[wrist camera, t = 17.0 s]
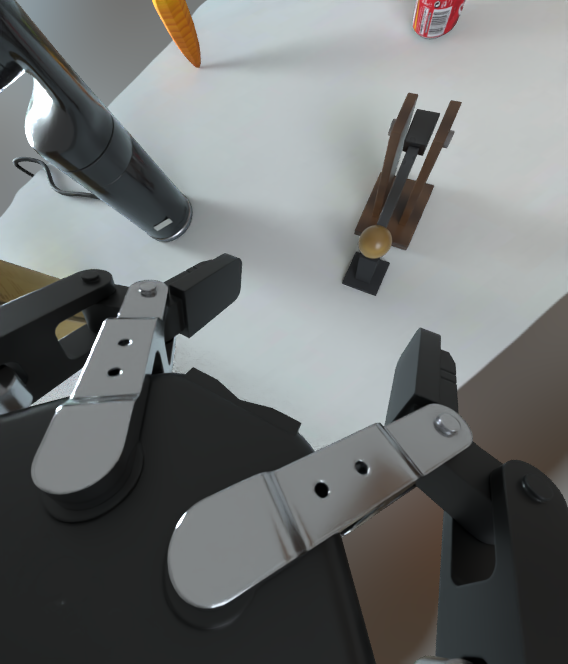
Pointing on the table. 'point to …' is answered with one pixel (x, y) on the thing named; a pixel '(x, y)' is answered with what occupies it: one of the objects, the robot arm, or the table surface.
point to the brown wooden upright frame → (413, 191)
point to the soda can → (436, 17)
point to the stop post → (365, 273)
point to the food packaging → (15, 281)
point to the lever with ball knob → (398, 184)
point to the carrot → (180, 27)
